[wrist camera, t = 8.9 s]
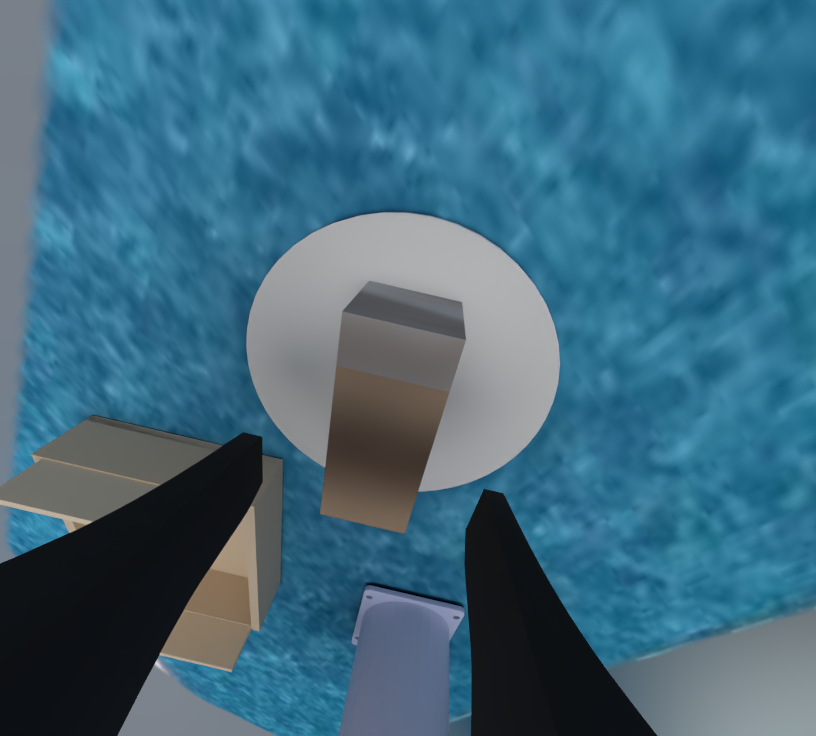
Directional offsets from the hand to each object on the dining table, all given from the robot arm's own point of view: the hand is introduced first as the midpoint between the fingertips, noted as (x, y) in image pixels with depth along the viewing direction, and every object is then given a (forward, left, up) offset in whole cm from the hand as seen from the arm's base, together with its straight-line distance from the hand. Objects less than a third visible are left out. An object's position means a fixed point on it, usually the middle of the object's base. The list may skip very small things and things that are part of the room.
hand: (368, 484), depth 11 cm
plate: (0, 0, -7) cm, 7 cm away
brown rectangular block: (0, 0, -6) cm, 6 cm away
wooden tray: (-15, +12, -7) cm, 20 cm away
